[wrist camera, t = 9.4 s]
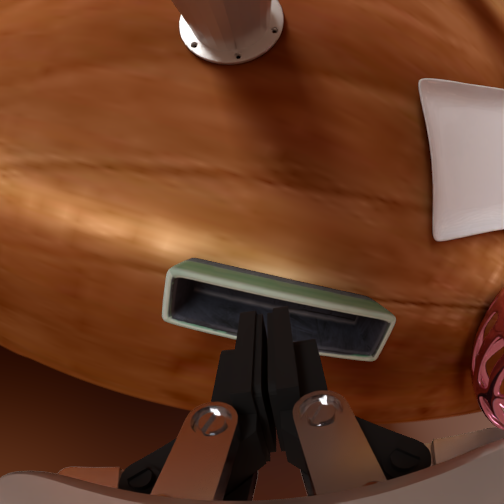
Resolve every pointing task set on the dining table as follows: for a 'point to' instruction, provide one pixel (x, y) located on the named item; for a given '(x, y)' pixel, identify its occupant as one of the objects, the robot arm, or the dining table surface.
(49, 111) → the dining table surface
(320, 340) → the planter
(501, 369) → the spiral basket
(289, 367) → the robot arm
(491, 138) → the salad plate
